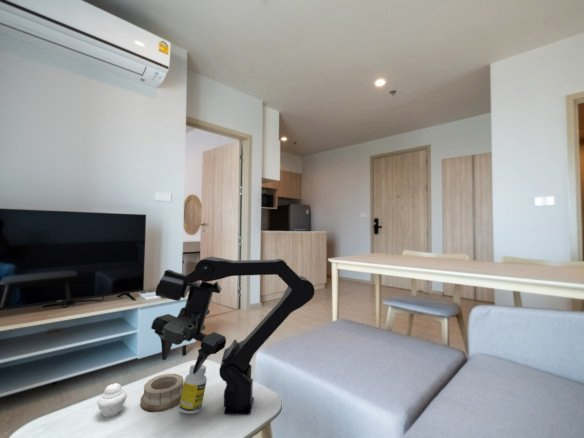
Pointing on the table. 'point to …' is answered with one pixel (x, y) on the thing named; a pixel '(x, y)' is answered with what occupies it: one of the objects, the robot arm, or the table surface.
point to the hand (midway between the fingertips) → (179, 366)
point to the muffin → (112, 400)
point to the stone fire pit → (162, 393)
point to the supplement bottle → (193, 391)
